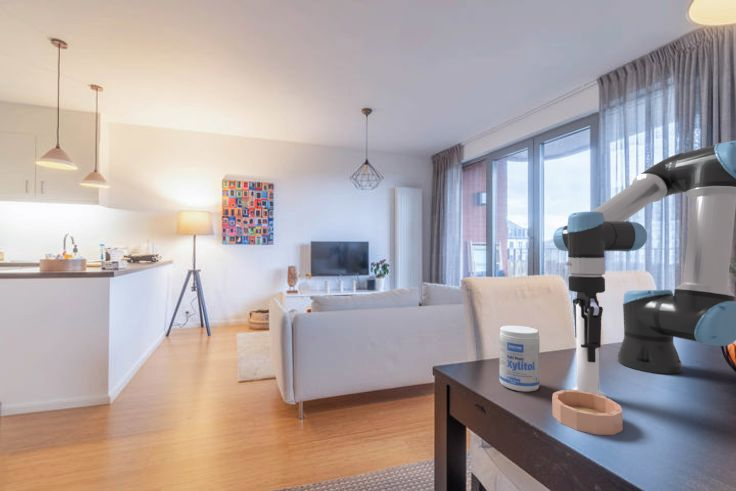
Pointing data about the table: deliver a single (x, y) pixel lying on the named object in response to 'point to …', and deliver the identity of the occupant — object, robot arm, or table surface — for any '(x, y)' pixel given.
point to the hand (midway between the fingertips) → (587, 372)
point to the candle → (585, 361)
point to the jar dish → (587, 412)
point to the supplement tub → (519, 358)
